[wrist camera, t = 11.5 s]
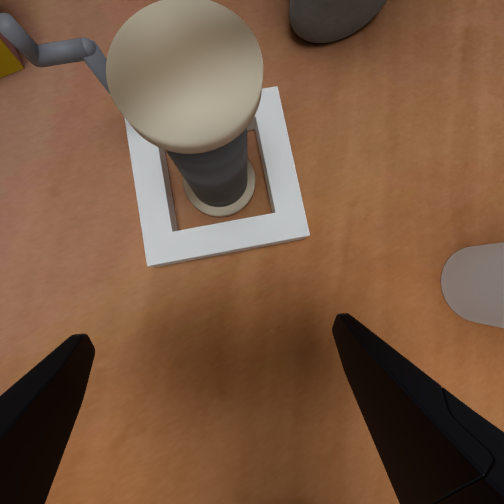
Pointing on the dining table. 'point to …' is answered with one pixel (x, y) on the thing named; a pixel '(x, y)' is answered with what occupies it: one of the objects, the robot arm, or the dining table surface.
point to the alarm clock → (8, 58)
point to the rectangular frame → (157, 177)
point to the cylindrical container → (476, 283)
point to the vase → (331, 18)
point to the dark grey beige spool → (192, 94)
